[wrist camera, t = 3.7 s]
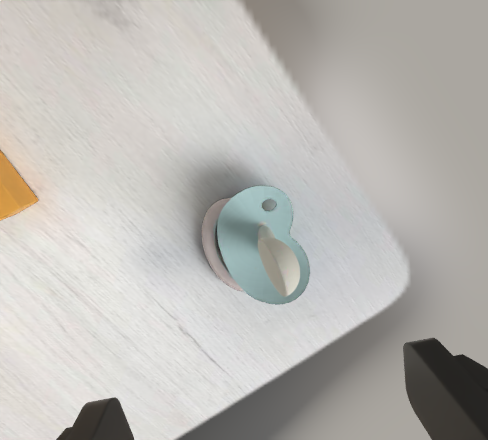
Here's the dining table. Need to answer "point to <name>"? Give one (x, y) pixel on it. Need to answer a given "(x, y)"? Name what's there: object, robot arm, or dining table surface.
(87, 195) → the dining table surface
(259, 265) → the pacifier
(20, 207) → the wooden stick
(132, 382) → the dining table surface
